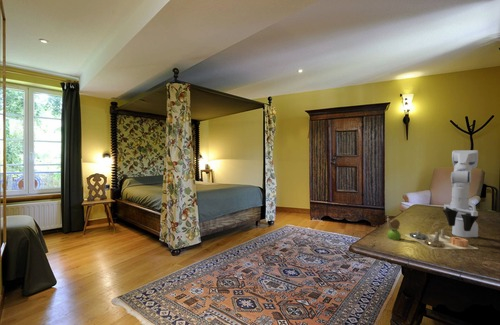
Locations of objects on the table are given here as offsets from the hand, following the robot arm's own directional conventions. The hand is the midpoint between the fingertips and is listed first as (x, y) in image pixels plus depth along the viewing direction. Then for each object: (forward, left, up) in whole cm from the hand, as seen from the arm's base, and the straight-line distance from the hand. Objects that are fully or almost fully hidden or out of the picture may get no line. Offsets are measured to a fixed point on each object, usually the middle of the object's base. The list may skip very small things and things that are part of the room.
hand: (459, 228), depth 106 cm
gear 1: (+11, -9, -7) cm, 16 cm away
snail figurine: (+25, -8, -9) cm, 27 cm away
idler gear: (0, 0, -7) cm, 7 cm away
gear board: (+6, -4, -8) cm, 11 cm away
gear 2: (+11, 0, -7) cm, 14 cm away
